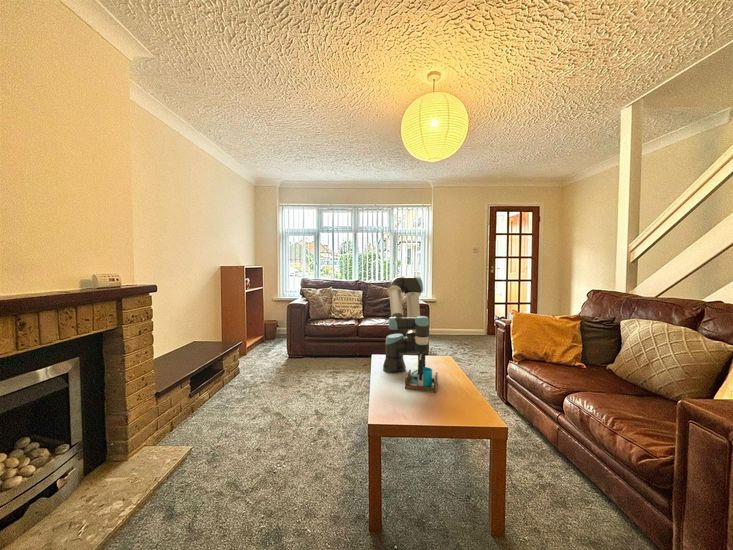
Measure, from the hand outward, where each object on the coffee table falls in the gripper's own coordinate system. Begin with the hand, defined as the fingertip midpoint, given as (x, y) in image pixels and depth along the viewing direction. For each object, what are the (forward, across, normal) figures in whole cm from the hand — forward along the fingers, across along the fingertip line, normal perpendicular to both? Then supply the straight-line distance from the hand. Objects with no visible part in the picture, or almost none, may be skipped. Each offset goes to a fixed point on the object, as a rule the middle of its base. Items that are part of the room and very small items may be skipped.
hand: (421, 382), depth 171 cm
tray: (+2, 0, 0) cm, 2 cm away
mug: (0, 0, 0) cm, 1 cm away
